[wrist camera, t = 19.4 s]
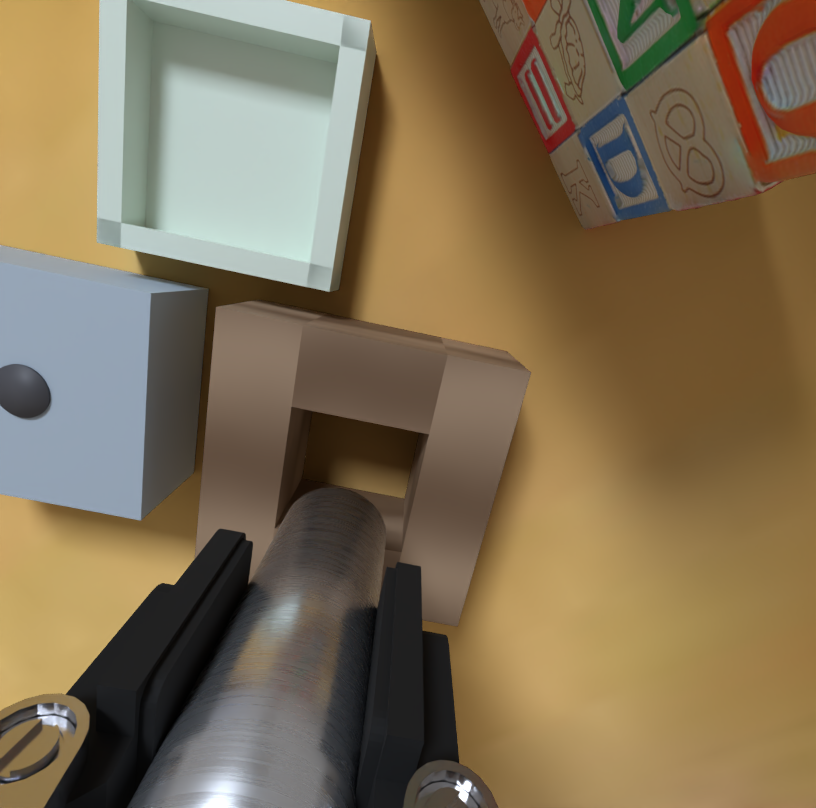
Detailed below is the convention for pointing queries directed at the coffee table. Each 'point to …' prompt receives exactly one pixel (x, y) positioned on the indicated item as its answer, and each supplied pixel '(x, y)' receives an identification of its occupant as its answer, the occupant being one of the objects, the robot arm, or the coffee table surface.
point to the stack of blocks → (665, 97)
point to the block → (97, 383)
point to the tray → (232, 133)
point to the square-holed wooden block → (366, 401)
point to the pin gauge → (284, 673)
